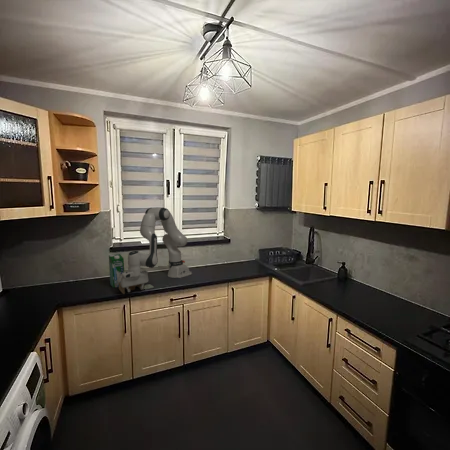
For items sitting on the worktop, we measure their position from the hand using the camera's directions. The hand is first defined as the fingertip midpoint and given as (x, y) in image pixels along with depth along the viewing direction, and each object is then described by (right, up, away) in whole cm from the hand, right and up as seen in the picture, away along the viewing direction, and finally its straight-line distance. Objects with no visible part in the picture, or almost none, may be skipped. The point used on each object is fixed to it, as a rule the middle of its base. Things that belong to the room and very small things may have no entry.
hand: (135, 290), depth 194 cm
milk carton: (-21, 0, +18) cm, 28 cm away
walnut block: (-6, -1, +8) cm, 10 cm away
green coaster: (+5, -1, +13) cm, 14 cm away
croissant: (-6, -1, +8) cm, 10 cm away
